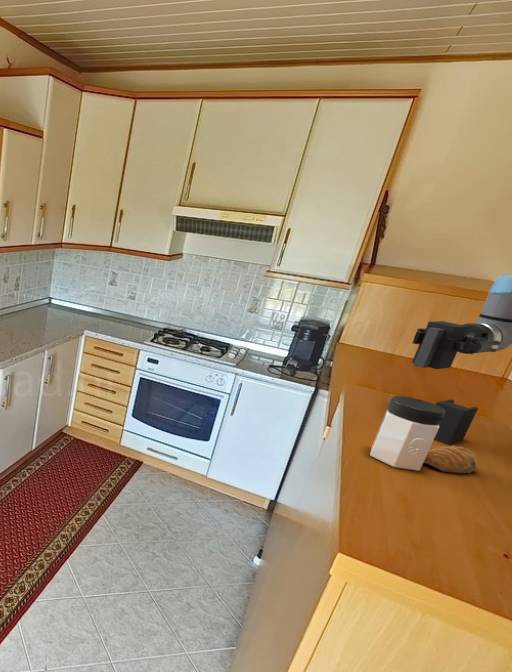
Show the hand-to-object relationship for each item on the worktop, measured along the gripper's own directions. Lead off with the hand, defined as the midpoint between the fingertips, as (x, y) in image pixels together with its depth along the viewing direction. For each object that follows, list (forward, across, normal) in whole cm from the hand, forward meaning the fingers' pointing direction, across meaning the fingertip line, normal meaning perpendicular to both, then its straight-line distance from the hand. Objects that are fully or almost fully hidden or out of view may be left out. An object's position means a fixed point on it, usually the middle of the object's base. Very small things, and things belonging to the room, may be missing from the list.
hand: (431, 341), depth 111 cm
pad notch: (0, -9, -20) cm, 22 cm away
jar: (+27, -11, -20) cm, 36 cm away
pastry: (+19, -17, -20) cm, 32 cm away
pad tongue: (-4, 0, -6) cm, 7 cm away
